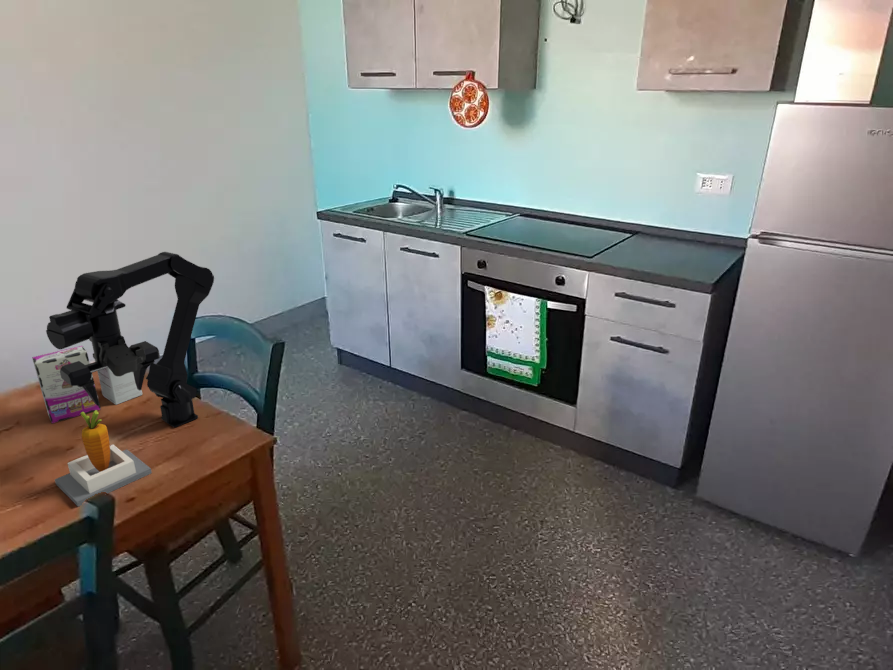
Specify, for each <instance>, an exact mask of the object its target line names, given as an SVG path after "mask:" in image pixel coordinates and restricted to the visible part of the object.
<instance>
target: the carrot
mask: <svg viewBox="0 0 893 670" xmlns="http://www.w3.org/2000/svg"><path fill="white" fill-rule="evenodd" d="M80 414H81V415H80V416H81V417H82V418H83V419H84V421H85V423H86V424H87V426H85V427H84V428H82V430H81V439H82V443H83V447H84V450H85V452H86V455H88V457H89V459H90V461H91V463H92V465H93V466H94V467H95V468H96V469H97V470H98V471H99V472H101V471H104V470H106V469H108V466H109V462H110V444H111V443H110V436H109V432H108V427H107V426H106V424H103V423H101V422H102V418H101V419H100V418H99V419H98V417H99V415H100V414H99V411H98V410H95V411H94V412H92V416H91V419H90V415H86V414H85V413H84V412H81V413H80Z"/></svg>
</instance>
